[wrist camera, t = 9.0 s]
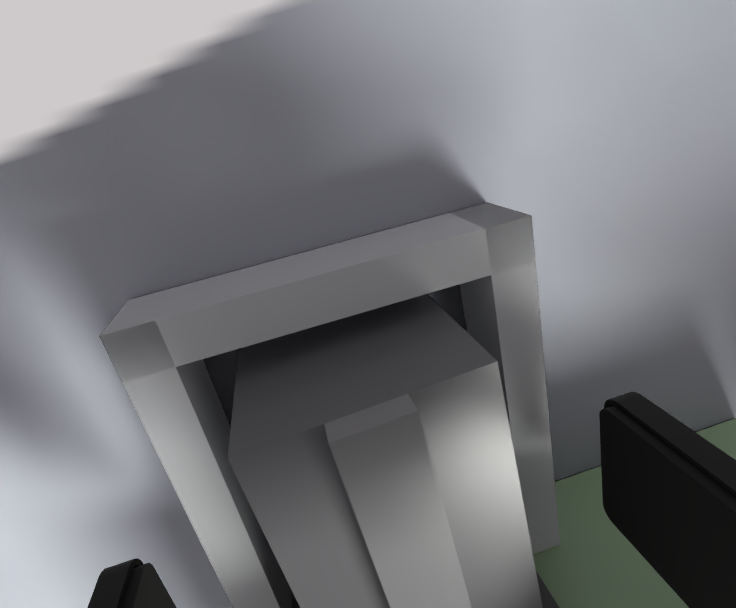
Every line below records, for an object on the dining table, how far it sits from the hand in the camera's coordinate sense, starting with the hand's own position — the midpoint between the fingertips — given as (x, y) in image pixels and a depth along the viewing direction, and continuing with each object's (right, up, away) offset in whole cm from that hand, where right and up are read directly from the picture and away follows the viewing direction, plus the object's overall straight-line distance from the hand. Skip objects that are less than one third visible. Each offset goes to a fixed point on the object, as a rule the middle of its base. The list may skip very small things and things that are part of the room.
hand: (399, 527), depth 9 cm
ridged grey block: (-1, +1, +3) cm, 4 cm away
